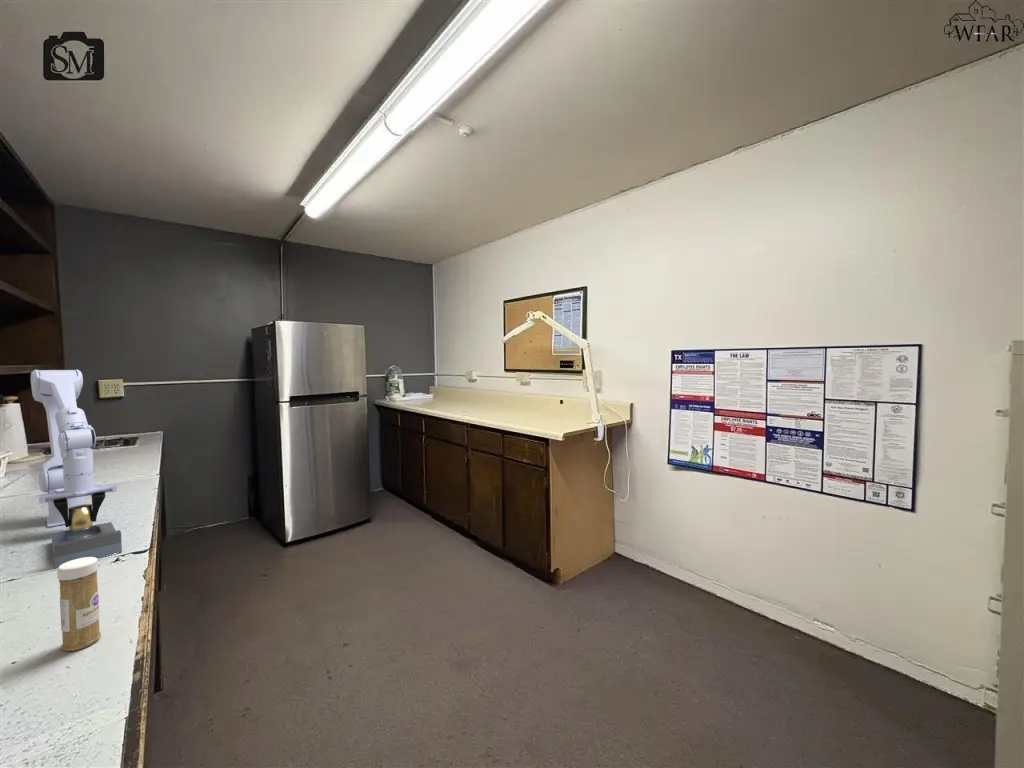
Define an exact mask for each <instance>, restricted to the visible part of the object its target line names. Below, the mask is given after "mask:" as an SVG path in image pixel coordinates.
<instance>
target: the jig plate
mask: <svg viewBox="0 0 1024 768" xmlns="http://www.w3.org/2000/svg"><path fill="white" fill-rule="evenodd" d="M51 546H52V548H51V549H52V555H53V565H54V566H55V567H54V570H56V568H57V569H58V567H59V566H60V565H62V564H64V563H66V562H68V561H71V560H75V559H79V558H84V557H95V558H98V559H100V558H101V557H102V558H105V557H104V556H106V557H108V556H107V555H110V554H114V553H118V552H122V553H123V549H122V548H123V546H122V531H121V529H118V530H116V529H115V526H114V524H113V523H112V521H109V522H104V523H100V524H94V525H93V526H89V527H84V528H79V529H74V530H69V529H68V530H65V531H60V532H55V533H51ZM118 554H119V553H118ZM114 555H115V554H114ZM110 556H111V555H110ZM102 558H101V559H102Z"/></svg>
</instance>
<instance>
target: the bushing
mask: <svg viewBox="0 0 1024 768" xmlns="http://www.w3.org/2000/svg"><path fill="white" fill-rule="evenodd" d="M68 510H69V523H70V527H68V528H69V529H68V531H69V530H74V529H79V528H84V527H89V526H94V525H93V523H94V522H92V503H85V504H83V505H77V506H73V507H70V508H69V509H68Z"/></svg>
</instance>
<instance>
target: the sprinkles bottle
mask: <svg viewBox="0 0 1024 768" xmlns="http://www.w3.org/2000/svg"><path fill="white" fill-rule="evenodd" d="M98 559H99V558H98ZM98 559H97V558H95V557H84V558H79V559H75V560H71V561H68V562H66V563H64V564H62V565H60V566H59V567H58V568H57V580H58V582H59V595H60V596H59V609H60V630H61V634H62V635H61V636H62V645H61V649H62V650H63V651H64V652H72V651H78V650H82V649H84V648H86V647H89V646H91V645H93V644H94V643H96V642H98V640H99V639H101V636H102V635H101V634H102V633H101V630H100V600H99V599H100V598H99V597H100V596H99V589H98V569H99V560H98Z"/></svg>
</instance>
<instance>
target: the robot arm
mask: <svg viewBox="0 0 1024 768" xmlns="http://www.w3.org/2000/svg"><path fill="white" fill-rule="evenodd" d="M83 378H84V377H83V373H82V372H81V370H80V369H48V370H47V369H45V370H44V369H33V370H32V371H31V372H30V386H31V392H32V393H31V395H32V397H33V400H34V401H36V402H40V403H41V404H42V405H43V407H44V409H45V413H46V421H47V430H48V436H49V443H50V451H51V452H50V453H51V458H50V459H48V460H47V461H45V462H44V463H42V464H40V466H39V468H38V485H39V489H40V491H41V492H43V494H39V495H38V500H39V504H40V505H42V504H46V503H47V506H48V517H47V518H46V526H47V528H51V527H56V526H61V525H65V528H69V527H70V523H69V510H68V509H69V508H70V507H73V506H77V505H83V504H86V503H85V497H86V496H87V497H88V496H91V504H92V522H93V523H94V522H97V518H98V513H99V510H100V508H101V506H102V504H103V502H104V501H105V499H106V493H116V492H118V489H117V488H118V485H117V484H116V483H110V484H109V483H108V484H100V485H95V473H94V471H95V470H94V449H95V448H96V442H97V437H96V431H95V429H94V427H92V425H91V424H88V420H87V416H86V414H85V411H84V410H83V409H82V408H79V407H78V405H77V403H78V402H77V399H79V397H80V395H81V391H82V388H83V387H84V385H83V384H84V379H83Z"/></svg>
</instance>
